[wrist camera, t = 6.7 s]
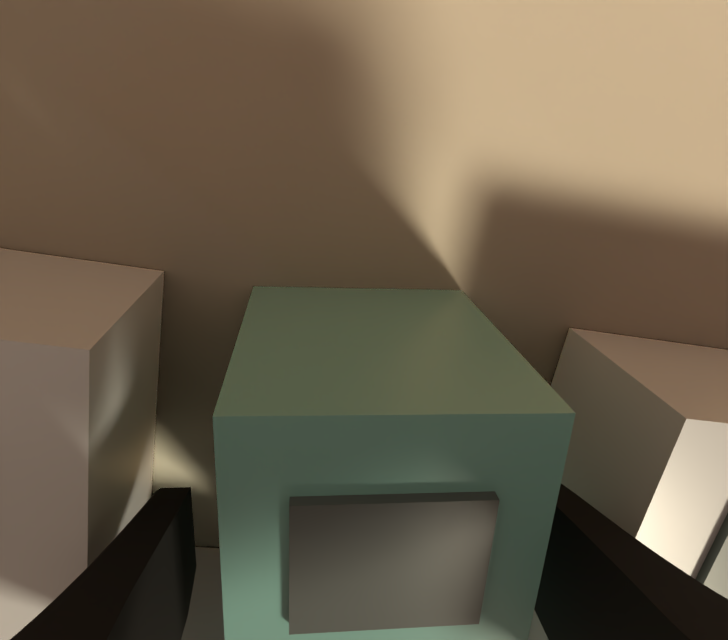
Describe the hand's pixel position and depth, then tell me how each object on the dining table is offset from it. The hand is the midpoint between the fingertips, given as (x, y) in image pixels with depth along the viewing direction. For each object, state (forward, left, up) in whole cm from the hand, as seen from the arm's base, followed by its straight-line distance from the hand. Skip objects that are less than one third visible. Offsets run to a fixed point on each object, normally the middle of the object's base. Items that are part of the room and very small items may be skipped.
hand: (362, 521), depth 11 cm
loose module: (0, -1, -3) cm, 3 cm away
